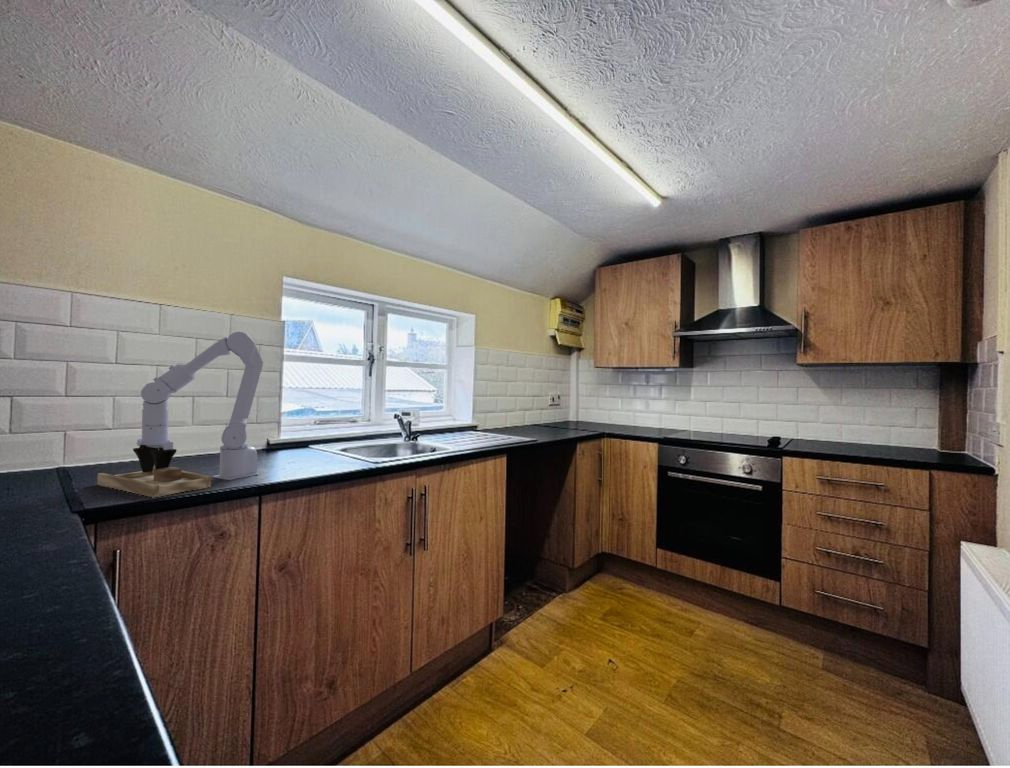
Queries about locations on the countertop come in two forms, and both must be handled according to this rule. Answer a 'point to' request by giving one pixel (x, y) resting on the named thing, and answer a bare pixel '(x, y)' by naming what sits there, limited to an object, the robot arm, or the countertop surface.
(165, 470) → the block
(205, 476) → the tray
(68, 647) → the countertop surface
